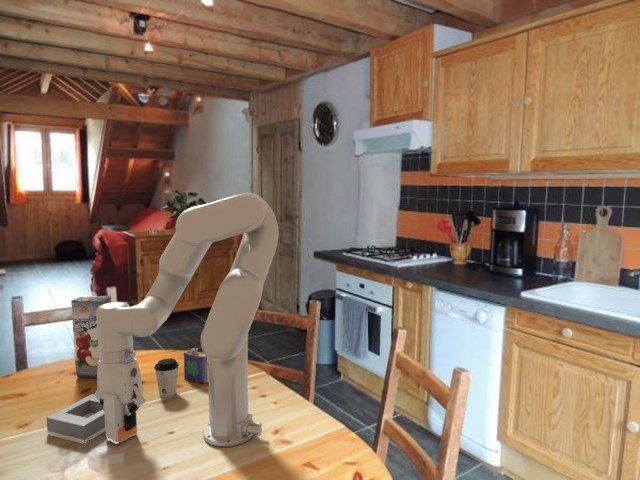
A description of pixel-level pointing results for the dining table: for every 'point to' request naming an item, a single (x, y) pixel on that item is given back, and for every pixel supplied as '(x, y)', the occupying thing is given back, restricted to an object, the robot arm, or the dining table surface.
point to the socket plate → (78, 420)
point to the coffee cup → (167, 377)
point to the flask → (195, 367)
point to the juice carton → (86, 334)
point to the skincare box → (116, 419)
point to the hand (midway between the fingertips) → (121, 425)
